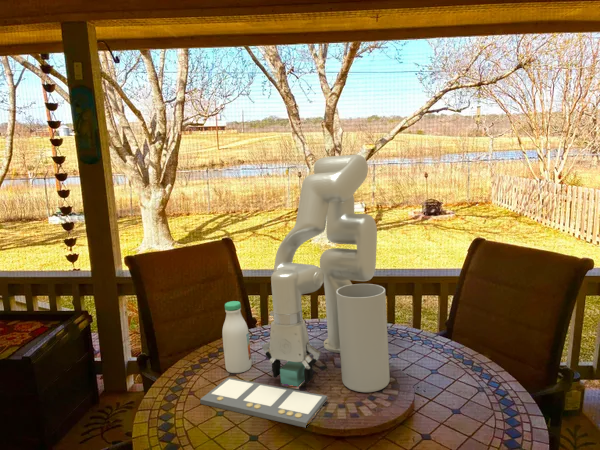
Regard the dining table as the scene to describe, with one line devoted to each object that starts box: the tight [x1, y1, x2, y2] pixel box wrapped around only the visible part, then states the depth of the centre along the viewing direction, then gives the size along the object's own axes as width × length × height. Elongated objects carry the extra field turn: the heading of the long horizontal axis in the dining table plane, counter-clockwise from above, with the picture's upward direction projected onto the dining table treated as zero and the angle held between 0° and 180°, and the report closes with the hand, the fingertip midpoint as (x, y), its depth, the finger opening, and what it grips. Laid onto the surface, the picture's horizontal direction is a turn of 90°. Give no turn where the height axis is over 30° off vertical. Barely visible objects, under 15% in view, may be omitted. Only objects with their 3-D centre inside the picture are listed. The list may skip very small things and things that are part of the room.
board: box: [199, 377, 328, 429], centre depth 109 cm, size 12×30×2 cm, turn 63°
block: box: [279, 361, 306, 387], centre depth 117 cm, size 5×5×5 cm
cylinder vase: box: [336, 283, 391, 393], centre depth 114 cm, size 12×12×25 cm
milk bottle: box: [221, 300, 252, 374], centre depth 128 cm, size 8×8×20 cm
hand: (292, 378), depth 117 cm, fingers open, 9 cm apart
